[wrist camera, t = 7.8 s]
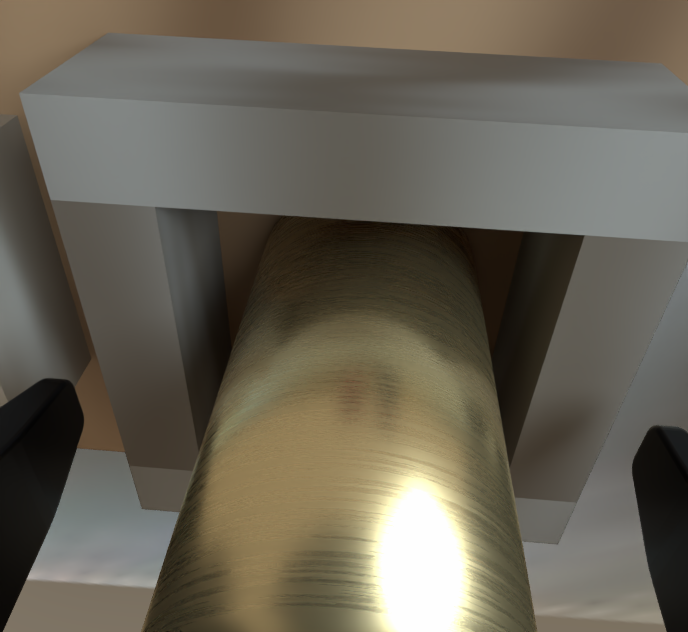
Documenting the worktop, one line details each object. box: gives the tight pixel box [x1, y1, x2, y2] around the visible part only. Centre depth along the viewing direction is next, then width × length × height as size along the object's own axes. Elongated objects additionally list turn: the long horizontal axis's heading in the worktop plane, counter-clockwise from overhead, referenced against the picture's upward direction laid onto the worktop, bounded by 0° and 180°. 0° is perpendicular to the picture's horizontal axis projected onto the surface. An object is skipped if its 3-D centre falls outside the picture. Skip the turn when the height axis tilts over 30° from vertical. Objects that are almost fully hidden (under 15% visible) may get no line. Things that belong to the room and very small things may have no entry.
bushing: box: [141, 215, 537, 632], centre depth 10 cm, size 4×4×8 cm
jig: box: [0, 0, 688, 544], centre depth 12 cm, size 18×13×4 cm
